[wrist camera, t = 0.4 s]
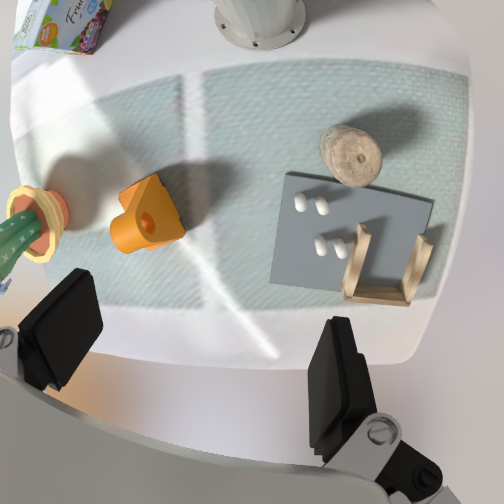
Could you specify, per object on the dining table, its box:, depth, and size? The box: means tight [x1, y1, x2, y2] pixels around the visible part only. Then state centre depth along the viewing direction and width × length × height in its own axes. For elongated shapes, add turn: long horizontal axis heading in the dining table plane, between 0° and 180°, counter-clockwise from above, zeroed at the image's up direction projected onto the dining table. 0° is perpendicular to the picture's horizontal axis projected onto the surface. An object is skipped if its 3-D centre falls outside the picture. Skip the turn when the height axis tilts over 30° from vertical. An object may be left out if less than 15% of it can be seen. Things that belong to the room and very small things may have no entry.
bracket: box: [110, 173, 186, 254], centre depth 39 cm, size 11×7×12 cm, turn 22°
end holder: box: [341, 223, 433, 307], centre depth 41 cm, size 12×12×4 cm
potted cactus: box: [0, 185, 69, 296], centre depth 35 cm, size 15×15×25 cm
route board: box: [270, 174, 432, 292], centre depth 41 cm, size 18×24×5 cm
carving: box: [319, 124, 382, 188], centre depth 32 cm, size 6×8×12 cm
